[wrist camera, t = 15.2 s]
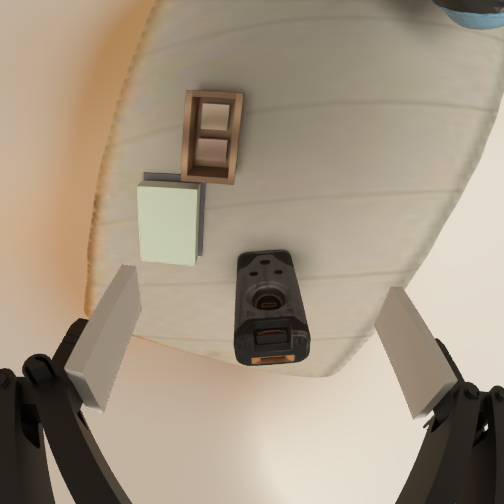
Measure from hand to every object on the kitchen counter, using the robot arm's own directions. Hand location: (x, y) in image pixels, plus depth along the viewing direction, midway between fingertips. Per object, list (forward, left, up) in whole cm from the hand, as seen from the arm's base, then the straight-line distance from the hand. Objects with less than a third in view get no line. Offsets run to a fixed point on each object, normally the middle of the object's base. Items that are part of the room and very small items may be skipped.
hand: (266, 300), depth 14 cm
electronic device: (+18, +4, -33) cm, 38 cm away
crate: (-4, -6, -33) cm, 33 cm away
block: (+10, -12, -31) cm, 35 cm away
